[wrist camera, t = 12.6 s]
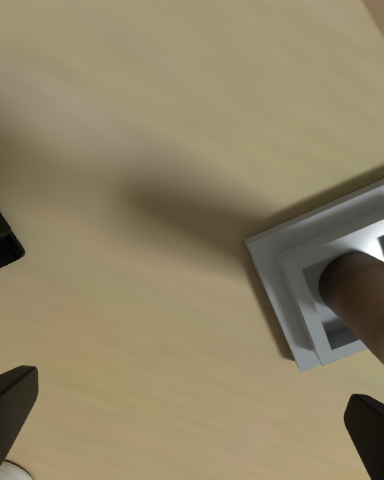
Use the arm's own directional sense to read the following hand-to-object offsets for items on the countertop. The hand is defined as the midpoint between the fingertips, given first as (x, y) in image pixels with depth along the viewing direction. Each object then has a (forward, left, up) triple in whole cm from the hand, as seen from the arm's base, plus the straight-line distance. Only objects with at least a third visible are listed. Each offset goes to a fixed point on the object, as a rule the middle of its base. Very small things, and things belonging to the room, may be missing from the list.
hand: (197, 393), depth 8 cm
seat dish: (+10, -7, -13) cm, 18 cm away
